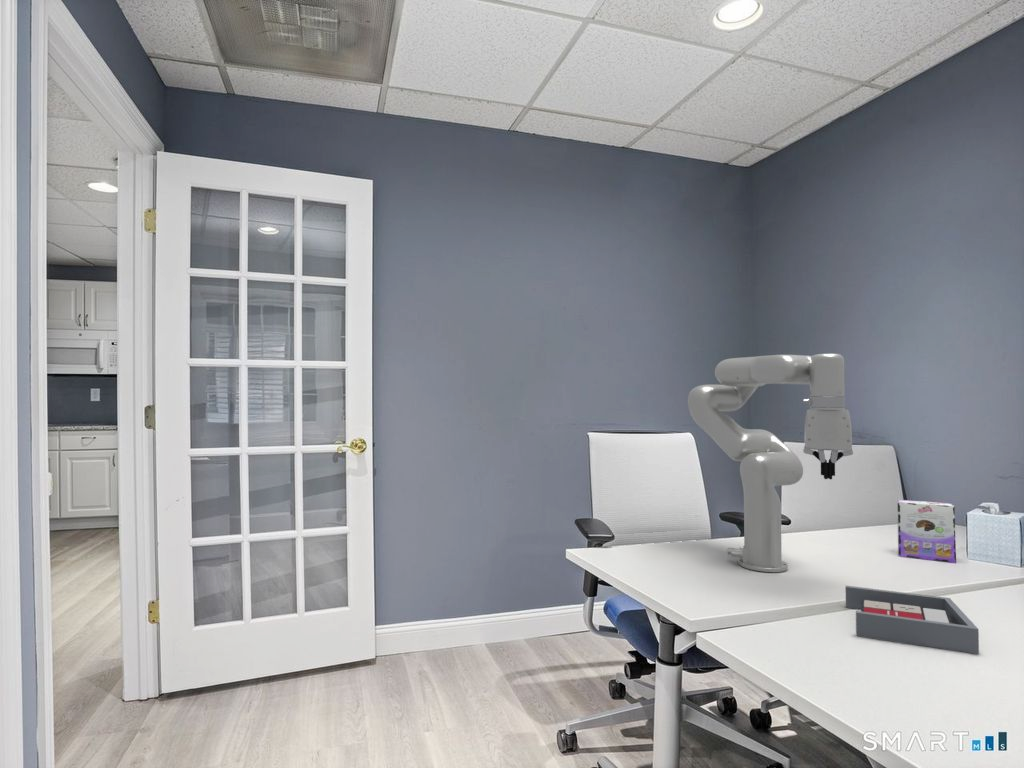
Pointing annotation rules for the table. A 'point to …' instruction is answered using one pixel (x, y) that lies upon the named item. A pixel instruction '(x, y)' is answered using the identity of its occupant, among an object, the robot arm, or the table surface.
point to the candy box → (926, 530)
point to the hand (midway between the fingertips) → (827, 478)
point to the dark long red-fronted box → (905, 611)
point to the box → (913, 621)
